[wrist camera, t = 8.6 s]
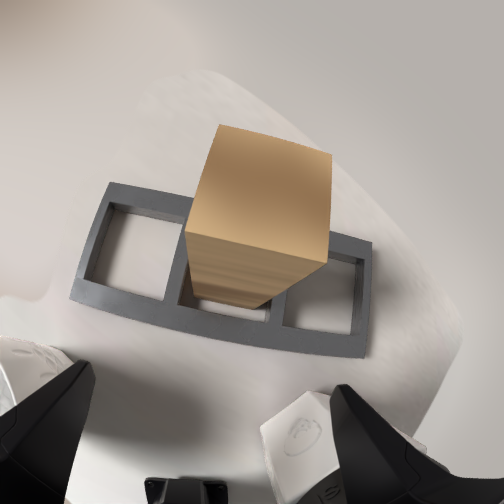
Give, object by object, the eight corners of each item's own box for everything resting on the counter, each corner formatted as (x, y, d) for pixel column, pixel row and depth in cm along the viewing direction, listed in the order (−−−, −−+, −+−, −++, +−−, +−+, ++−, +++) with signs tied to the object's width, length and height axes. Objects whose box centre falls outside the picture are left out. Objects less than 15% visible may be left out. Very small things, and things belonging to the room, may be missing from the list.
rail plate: (354, 358, 21) (364, 358, 19) (77, 302, 18) (69, 299, 17) (363, 247, 24) (372, 242, 23) (114, 190, 22) (109, 181, 20)
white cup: (109, 384, 17) (42, 411, 8) (69, 447, 14) (7, 491, 5) (41, 318, 17) (-39, 296, 8) (7, 383, 14) (-68, 388, 5)
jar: (328, 367, 19) (435, 425, 7) (377, 428, 18) (469, 488, 6) (233, 438, 17) (248, 556, 5) (294, 490, 16) (340, 584, 5)
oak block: (252, 309, 21) (327, 263, 9) (194, 297, 20) (184, 230, 8) (262, 254, 22) (332, 154, 10) (207, 241, 22) (219, 124, 10)
